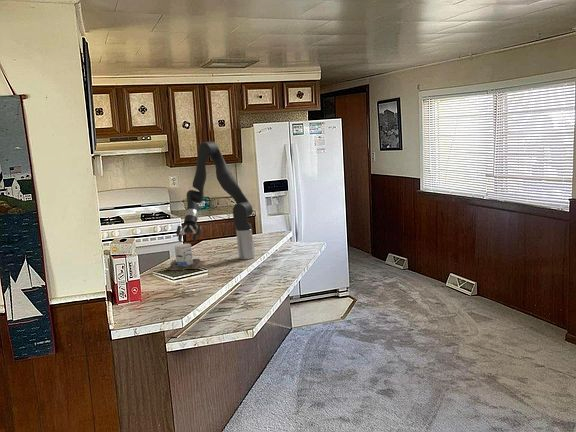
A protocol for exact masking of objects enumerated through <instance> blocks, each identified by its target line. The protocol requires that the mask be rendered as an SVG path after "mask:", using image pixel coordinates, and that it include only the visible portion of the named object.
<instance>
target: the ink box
mask: <svg viewBox="0 0 576 432" xmlns="http://www.w3.org/2000/svg"><path fill="white" fill-rule="evenodd" d="M174 249H175V250H174V252H175V260H176V262H177V265H189V264H192V263H193V259H194V258H193V251H192V244H191V243H181V244H178V245H175V246H174Z"/></svg>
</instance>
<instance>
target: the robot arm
mask: <svg viewBox="0 0 576 432" xmlns="http://www.w3.org/2000/svg"><path fill="white" fill-rule="evenodd" d="M208 158H210V159H211V160H212V162H213V164H214V166H215V176H216V179H217V182H218V184H219V185H220V186H221V188H222V190H223V191H224V192H226V193H227V194H228V195H229V196H230V197H232V199H233V200H234V202H235V203H236V204H234V205H233V208H232V217H233V224H234V227H235V229H236V242H237V255H238V260H251V259H254V258H255V256H256V253H255V242H254V239H253V237H254V236H253V226H252V223H249V220H248V217H251V216H252V214H253V212H254V211H253V210H254V208H253V205H252V204H251V202H250V201H249V199H248V198H247V197H246V195H245V194H244V192H243V191H242V189H241V188H240V186H239V184H238V182H237V181H236V179H235V177H234V175H233V174H232V172H231V169H230V168H229V166H228V164H227V161H225V159H224V157H223V155H222V152H221V149H220V147H219V146H218V144H217V143H216V142H215V141H213V140H211V141H203V142H200V144H199V146H198V149H197V159H196V168H195V172H194V177H193V180H192V188H195V189H196V190H193V189H189V190H188V191H187V192H186V203H187V206H186V211H185V214H184V220H183V225H182V226H180V225H177V228H176V231H175V234H176V236H177V237H178V238H177V239H178V241H179V242H182V238H183V236H184V235H186V234H190V233H191V234H193V237H192V241H193V242H196V240H197V237H198V236H200V235H201V233H202V226H201V224H198V225H197V223H198V219H199V209H200V205H199V204H201V203H202V202H204V199H205V198H204V197H205V196H204V191H205V190H204V187H205V184H206V181H207V169H206V167H207V161H208ZM197 190H198V191H197ZM196 229H197V230H196Z"/></svg>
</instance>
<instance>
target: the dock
mask: <svg viewBox="0 0 576 432" xmlns="http://www.w3.org/2000/svg"><path fill="white" fill-rule="evenodd" d="M192 259H193V263H192V264H189V265H177V262H176V259H173V260H172V261H170V262H169V264H170V265H169V266H167V268H165V270H180V269H197V270H198V269H199V268H201V267H202V266H203V265H204V264H205V263H207V261H206V260H201V259H200V258H192Z"/></svg>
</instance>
